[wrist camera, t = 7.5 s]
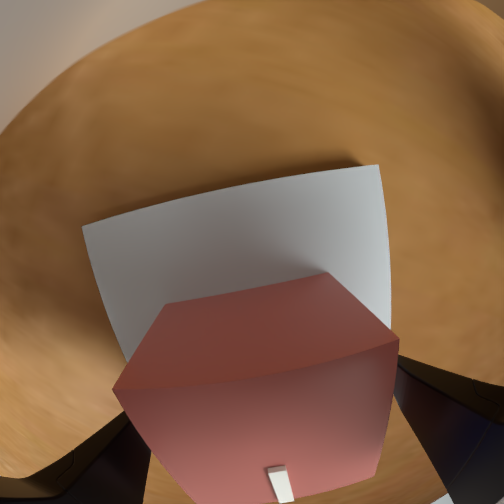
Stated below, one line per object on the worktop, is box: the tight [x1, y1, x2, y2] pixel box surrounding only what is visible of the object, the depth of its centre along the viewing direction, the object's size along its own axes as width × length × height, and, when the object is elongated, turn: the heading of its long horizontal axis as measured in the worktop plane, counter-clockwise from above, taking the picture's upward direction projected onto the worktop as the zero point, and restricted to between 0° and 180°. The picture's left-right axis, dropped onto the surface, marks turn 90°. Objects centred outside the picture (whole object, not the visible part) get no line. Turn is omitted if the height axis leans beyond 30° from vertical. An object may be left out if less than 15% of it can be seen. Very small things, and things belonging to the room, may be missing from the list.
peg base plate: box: [82, 165, 391, 363], centre depth 10 cm, size 12×14×5 cm
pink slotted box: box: [112, 272, 399, 504], centre depth 8 cm, size 6×6×6 cm
